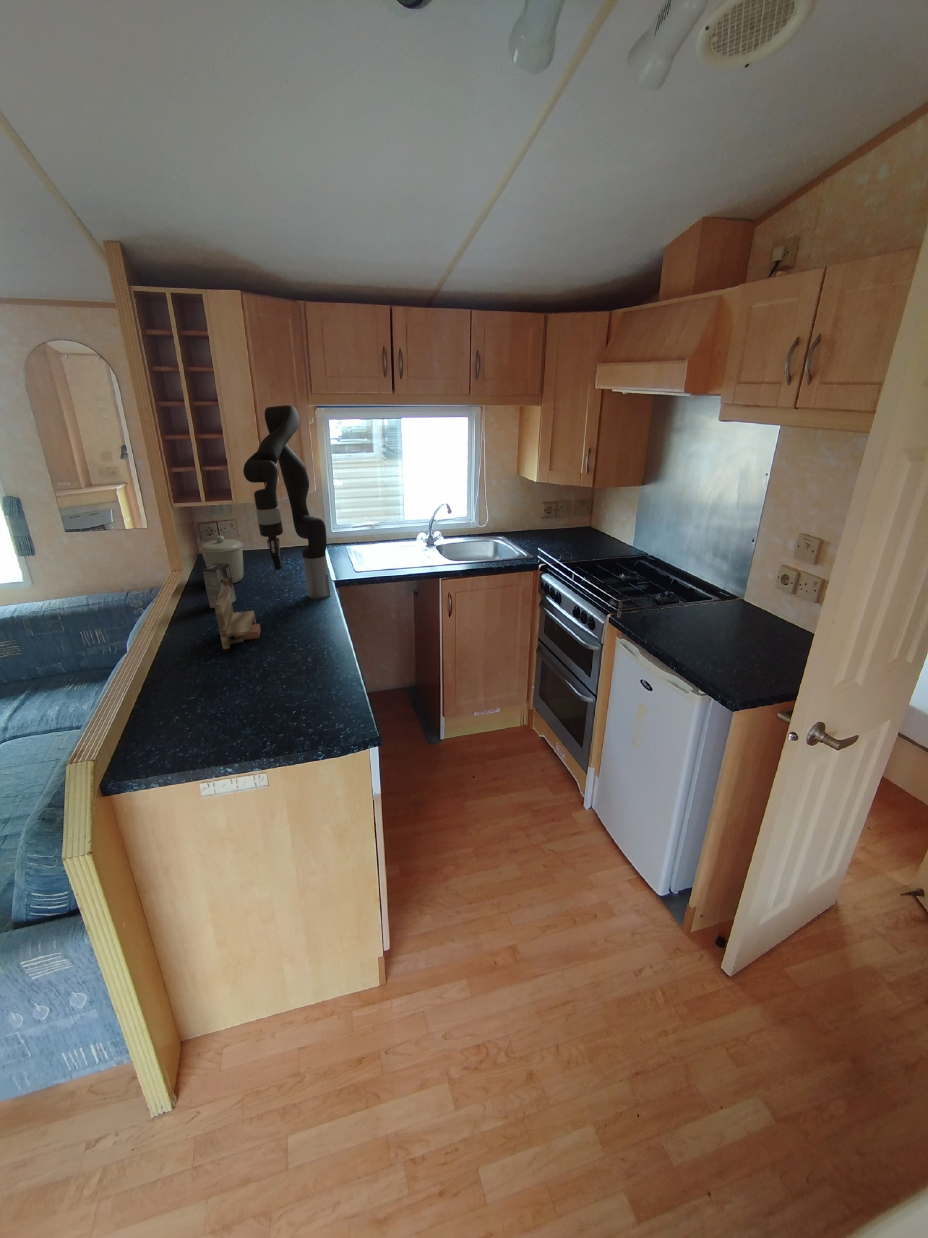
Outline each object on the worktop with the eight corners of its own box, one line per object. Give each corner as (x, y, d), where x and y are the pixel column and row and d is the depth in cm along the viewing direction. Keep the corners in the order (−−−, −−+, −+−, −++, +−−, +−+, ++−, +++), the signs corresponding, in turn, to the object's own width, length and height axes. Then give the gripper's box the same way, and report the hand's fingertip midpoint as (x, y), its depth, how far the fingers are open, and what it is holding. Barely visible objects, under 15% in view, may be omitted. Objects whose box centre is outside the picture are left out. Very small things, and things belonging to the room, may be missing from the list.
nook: (256, 624, 207) (249, 583, 200) (251, 645, 190) (243, 602, 183) (230, 627, 205) (222, 586, 199) (223, 649, 188) (214, 605, 182)
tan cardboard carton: (260, 630, 202) (259, 623, 201) (259, 638, 196) (257, 631, 195) (237, 632, 200) (236, 626, 199) (235, 640, 194) (233, 634, 193)
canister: (256, 580, 253) (248, 535, 245) (217, 590, 241) (208, 543, 233) (237, 572, 264) (229, 528, 256) (199, 581, 252) (190, 536, 244)
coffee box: (222, 599, 231) (215, 562, 225) (236, 600, 230) (229, 563, 224) (209, 607, 223) (201, 569, 216) (223, 608, 222) (216, 570, 215)
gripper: (280, 524, 184) (289, 573, 191) (281, 515, 196) (289, 562, 203) (256, 526, 182) (266, 576, 190) (259, 517, 194) (267, 564, 201)
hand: (278, 568), depth 196 cm, fingers closed
